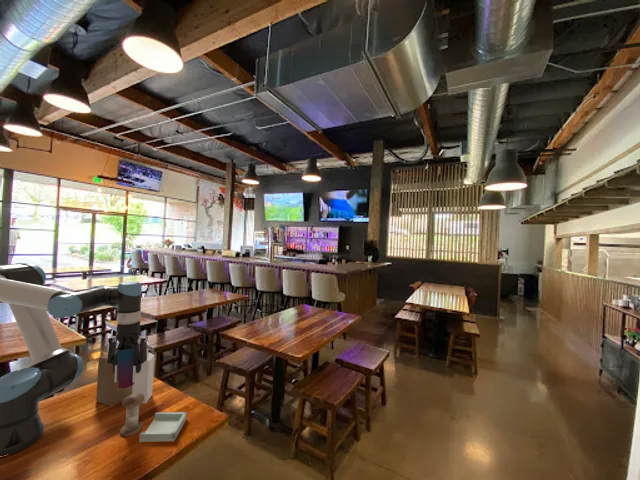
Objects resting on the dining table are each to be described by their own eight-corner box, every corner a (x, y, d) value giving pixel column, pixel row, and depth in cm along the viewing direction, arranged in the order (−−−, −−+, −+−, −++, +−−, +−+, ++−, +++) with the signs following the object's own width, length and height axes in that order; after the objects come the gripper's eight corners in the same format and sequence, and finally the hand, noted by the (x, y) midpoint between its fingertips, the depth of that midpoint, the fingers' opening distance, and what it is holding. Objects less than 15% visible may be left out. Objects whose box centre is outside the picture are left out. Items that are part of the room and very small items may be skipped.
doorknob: (115, 437, 98) (117, 404, 98) (127, 423, 105) (129, 393, 105) (135, 436, 99) (138, 404, 98) (146, 423, 105) (147, 393, 105)
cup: (110, 387, 101) (112, 348, 101) (127, 378, 108) (129, 342, 108) (124, 391, 100) (126, 351, 99) (141, 381, 106) (142, 344, 106)
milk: (131, 404, 116) (134, 354, 116) (138, 395, 122) (140, 348, 122) (146, 403, 117) (149, 354, 117) (152, 395, 123) (155, 348, 123)
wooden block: (94, 401, 116) (97, 356, 116) (118, 389, 126) (120, 347, 125) (111, 407, 113) (114, 361, 113) (133, 394, 123) (136, 352, 122)
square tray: (139, 441, 96) (139, 434, 96) (155, 419, 108) (156, 412, 108) (174, 441, 98) (174, 433, 98) (186, 418, 110) (187, 412, 110)
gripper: (95, 324, 99) (93, 385, 99) (148, 325, 101) (146, 385, 101) (110, 318, 107) (108, 375, 107) (159, 319, 108) (157, 375, 108)
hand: (126, 380), depth 104 cm, fingers closed on cup, 6 cm apart
